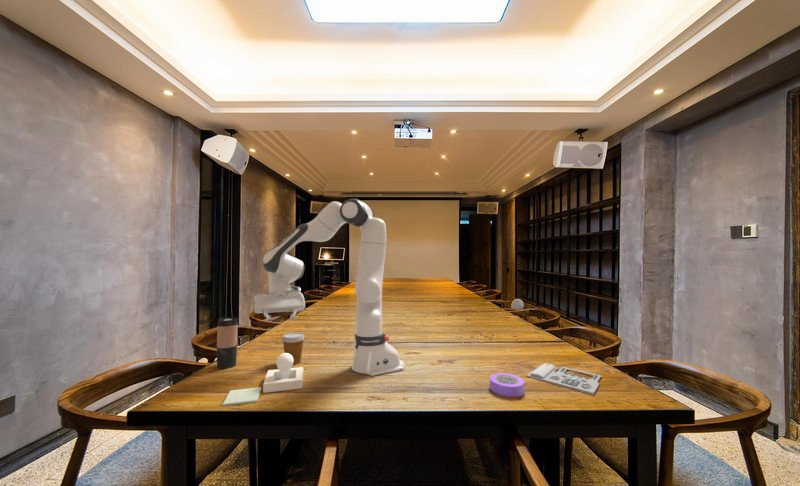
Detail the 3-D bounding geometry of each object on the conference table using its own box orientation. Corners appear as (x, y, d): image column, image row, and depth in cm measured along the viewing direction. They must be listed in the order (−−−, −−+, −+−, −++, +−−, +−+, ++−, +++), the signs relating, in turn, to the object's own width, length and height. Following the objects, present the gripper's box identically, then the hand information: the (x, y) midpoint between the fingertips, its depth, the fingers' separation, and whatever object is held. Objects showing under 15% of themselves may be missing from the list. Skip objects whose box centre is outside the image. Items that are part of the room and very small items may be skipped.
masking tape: (521, 400, 103) (521, 389, 103) (486, 392, 109) (486, 381, 109) (526, 387, 113) (526, 376, 113) (493, 380, 119) (493, 370, 119)
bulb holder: (303, 374, 123) (303, 366, 123) (302, 388, 111) (302, 379, 111) (267, 378, 119) (268, 370, 119) (263, 392, 107) (263, 384, 107)
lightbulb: (287, 387, 111) (287, 356, 112) (272, 385, 113) (272, 355, 113) (296, 380, 117) (296, 351, 118) (281, 379, 119) (282, 350, 119)
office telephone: (525, 371, 123) (543, 359, 137) (525, 378, 123) (543, 365, 137) (593, 388, 107) (604, 372, 121) (593, 396, 107) (605, 379, 121)
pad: (261, 388, 110) (261, 387, 110) (257, 401, 100) (257, 400, 100) (230, 392, 107) (230, 390, 107) (222, 406, 98) (222, 404, 98)
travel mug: (240, 364, 134) (241, 317, 134) (224, 370, 127) (225, 321, 127) (228, 361, 137) (230, 316, 138) (212, 367, 130) (213, 319, 131)
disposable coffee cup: (308, 361, 138) (309, 334, 138) (291, 367, 130) (291, 339, 130) (294, 357, 143) (295, 331, 144) (276, 363, 135) (277, 335, 135)
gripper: (253, 289, 130) (253, 316, 121) (304, 287, 139) (307, 313, 130) (253, 298, 134) (253, 325, 125) (302, 296, 143) (305, 321, 134)
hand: (281, 319), depth 128 cm, fingers open, 8 cm apart
